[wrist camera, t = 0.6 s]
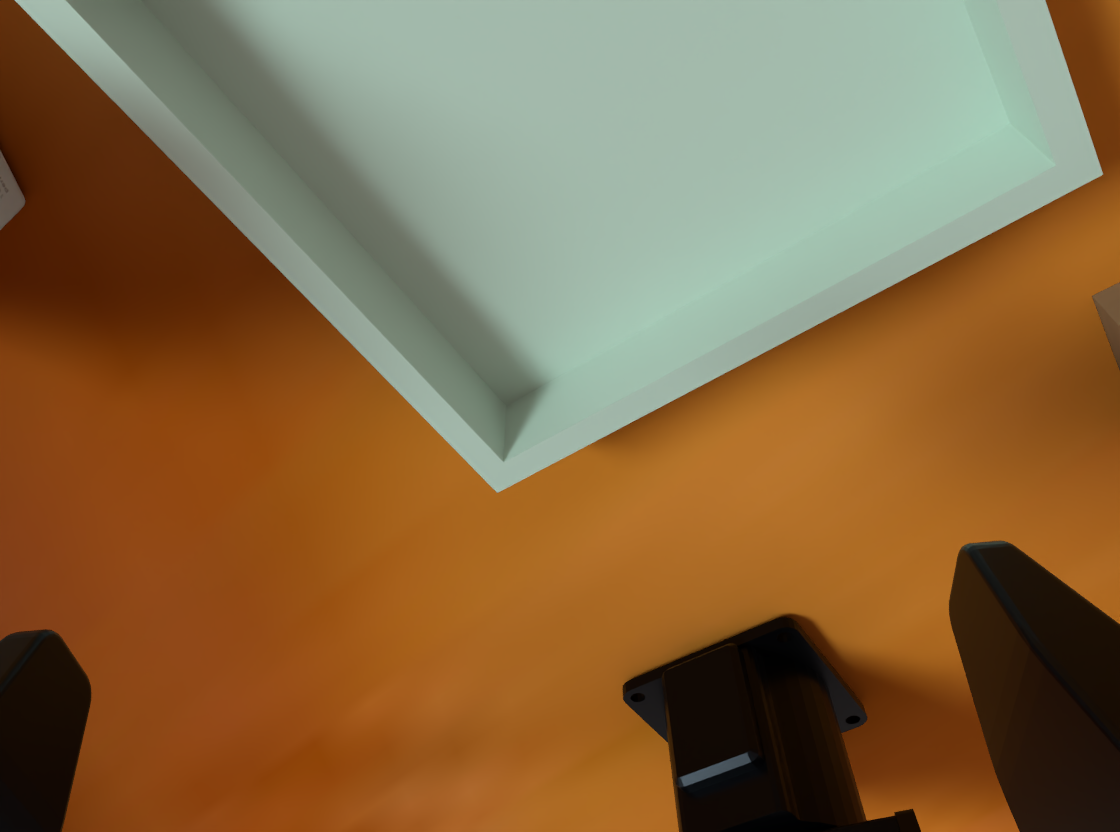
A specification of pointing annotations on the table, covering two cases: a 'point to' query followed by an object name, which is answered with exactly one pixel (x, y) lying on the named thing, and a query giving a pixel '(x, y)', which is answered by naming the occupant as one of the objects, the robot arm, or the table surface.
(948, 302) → the table surface
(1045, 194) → the tray
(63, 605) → the table surface
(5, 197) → the small box
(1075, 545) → the table surface
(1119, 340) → the walnut block
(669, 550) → the table surface
